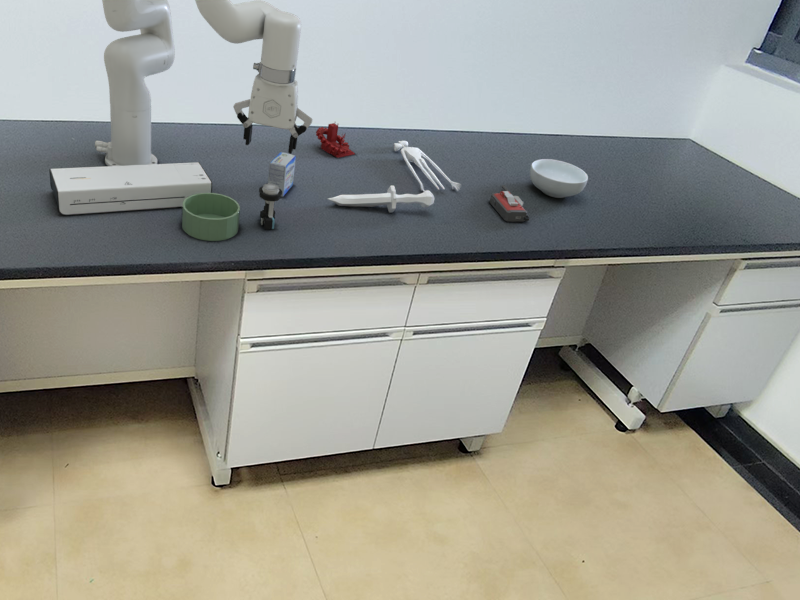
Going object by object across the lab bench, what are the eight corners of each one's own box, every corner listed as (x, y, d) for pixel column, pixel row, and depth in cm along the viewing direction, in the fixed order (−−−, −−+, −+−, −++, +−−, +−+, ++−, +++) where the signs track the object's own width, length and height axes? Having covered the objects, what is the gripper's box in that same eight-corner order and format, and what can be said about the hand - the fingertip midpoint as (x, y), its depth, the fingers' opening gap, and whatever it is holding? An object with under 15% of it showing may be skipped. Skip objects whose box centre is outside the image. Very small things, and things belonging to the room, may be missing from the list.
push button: (251, 217, 184) (254, 179, 179) (272, 216, 186) (276, 178, 181) (259, 231, 179) (263, 192, 174) (281, 229, 182) (285, 191, 176)
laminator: (58, 216, 169) (56, 191, 166) (50, 190, 177) (48, 166, 174) (211, 205, 185) (212, 182, 182) (196, 182, 194) (197, 159, 190)
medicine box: (283, 197, 195) (286, 166, 190) (266, 193, 196) (269, 162, 191) (293, 185, 202) (296, 155, 197) (276, 181, 202) (279, 150, 197)
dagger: (327, 208, 192) (437, 204, 195) (325, 185, 193) (436, 181, 196) (326, 217, 199) (433, 213, 203) (325, 194, 200) (431, 190, 204)
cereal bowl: (567, 181, 238) (574, 160, 234) (590, 206, 225) (597, 184, 221) (517, 177, 233) (523, 156, 230) (537, 203, 220) (544, 181, 216)
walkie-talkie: (534, 224, 209) (504, 190, 224) (539, 210, 206) (508, 176, 222) (506, 224, 206) (477, 189, 221) (510, 209, 203) (481, 175, 218)
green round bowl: (175, 235, 171) (175, 213, 168) (190, 209, 182) (190, 188, 179) (231, 244, 172) (233, 223, 169) (243, 219, 183) (244, 198, 180)
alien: (413, 146, 239) (417, 131, 236) (458, 201, 217) (463, 185, 214) (378, 146, 234) (382, 131, 231) (420, 202, 212) (425, 186, 209)
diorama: (353, 161, 221) (357, 134, 217) (311, 154, 220) (315, 126, 216) (355, 147, 230) (360, 120, 226) (316, 140, 229) (319, 113, 225)
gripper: (233, 70, 160) (227, 146, 170) (315, 87, 162) (305, 161, 171) (240, 59, 166) (234, 133, 176) (319, 75, 168) (309, 148, 177)
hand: (269, 147), depth 173 cm, fingers open, 9 cm apart
